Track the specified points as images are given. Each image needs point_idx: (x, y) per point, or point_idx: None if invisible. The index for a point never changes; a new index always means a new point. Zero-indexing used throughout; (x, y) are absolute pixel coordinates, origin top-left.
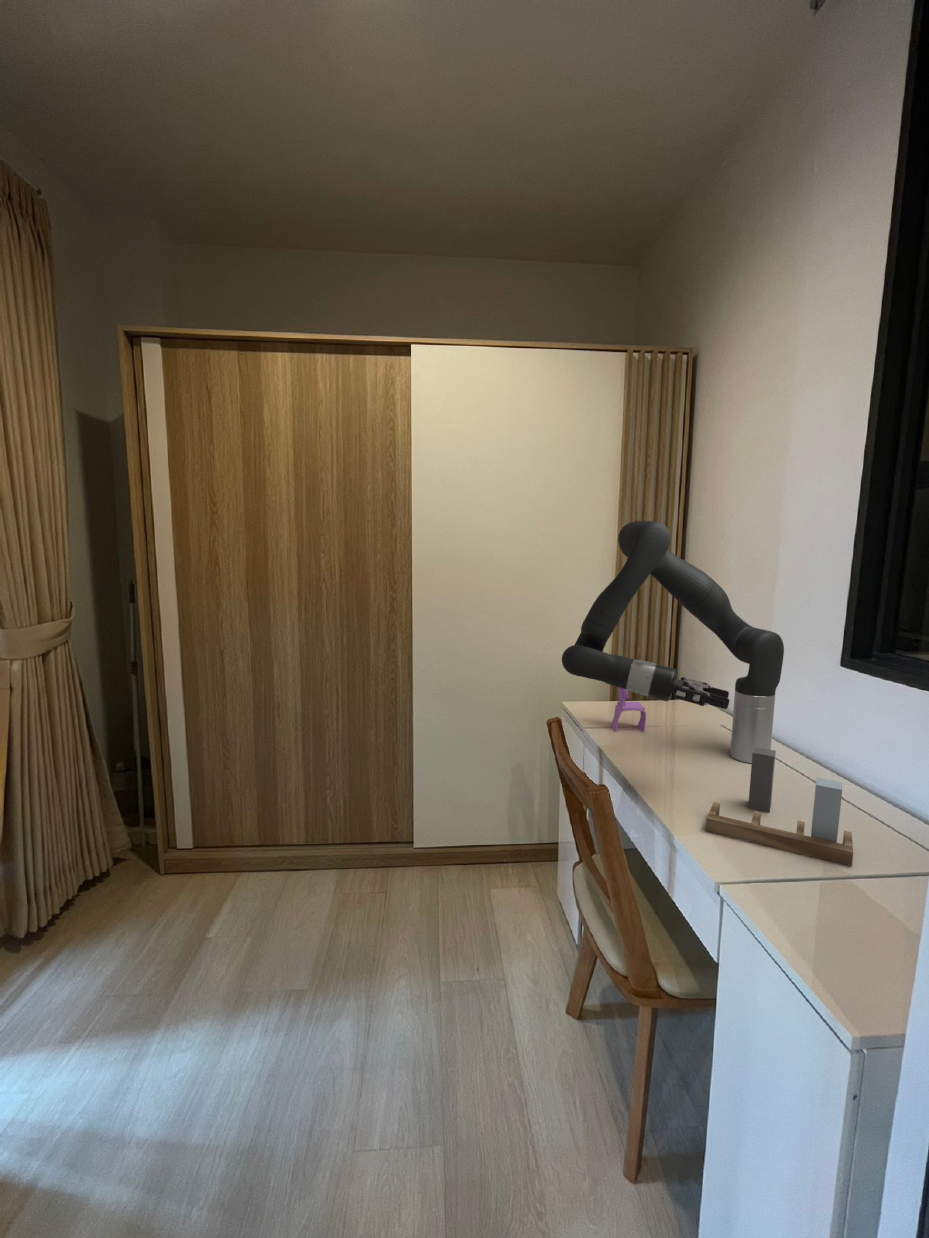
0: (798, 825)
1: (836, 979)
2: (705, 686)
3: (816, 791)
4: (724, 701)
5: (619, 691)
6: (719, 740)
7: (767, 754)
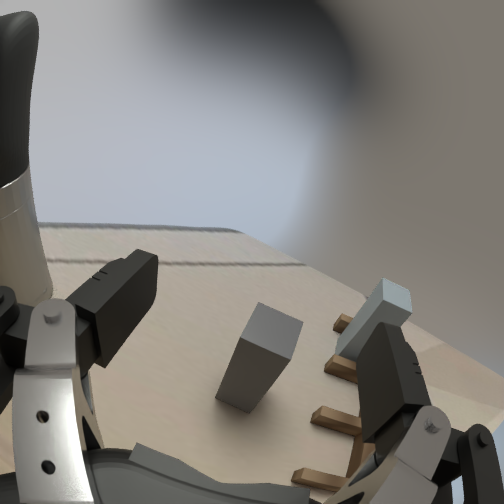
0: (349, 366)
1: (501, 398)
2: (76, 354)
3: (406, 319)
4: (409, 353)
5: None
6: None
7: (293, 330)
